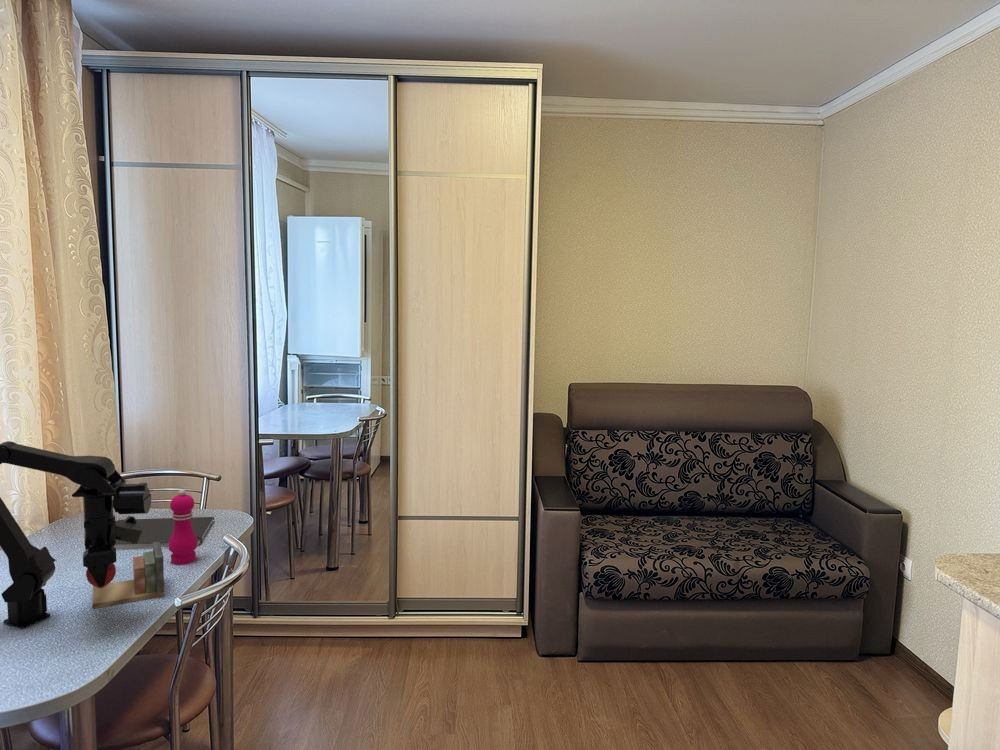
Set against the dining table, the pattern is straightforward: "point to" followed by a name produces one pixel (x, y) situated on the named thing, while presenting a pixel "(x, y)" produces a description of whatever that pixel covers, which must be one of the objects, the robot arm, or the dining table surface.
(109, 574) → the pomegranate
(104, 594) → the book shelf
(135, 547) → the notebook
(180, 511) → the pepper mill
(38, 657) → the dining table surface
